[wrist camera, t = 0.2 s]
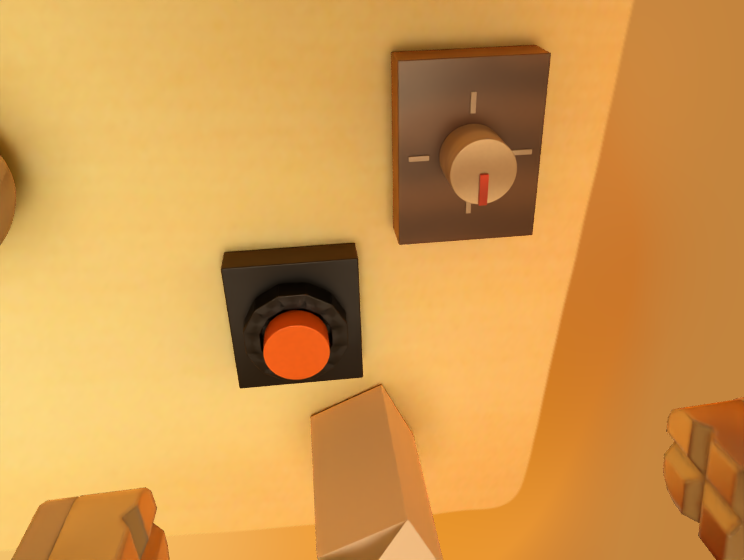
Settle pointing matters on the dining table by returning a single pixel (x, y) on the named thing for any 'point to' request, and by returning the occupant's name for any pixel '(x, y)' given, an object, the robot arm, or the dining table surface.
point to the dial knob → (477, 164)
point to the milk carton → (369, 484)
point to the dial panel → (455, 109)
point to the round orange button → (296, 345)
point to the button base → (293, 305)
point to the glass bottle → (6, 199)
